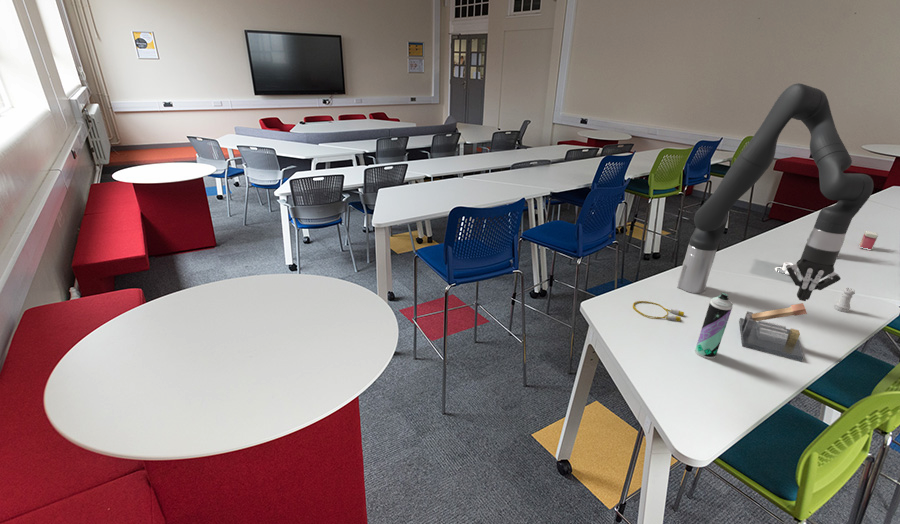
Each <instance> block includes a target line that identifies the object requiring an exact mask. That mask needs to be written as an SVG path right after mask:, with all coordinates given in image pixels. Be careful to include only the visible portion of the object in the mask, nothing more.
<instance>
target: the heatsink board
mask: <svg viewBox="0 0 900 524" xmlns="http://www.w3.org/2000/svg"><path fill="white" fill-rule="evenodd" d="M748 313H751V314H754V312H752V311H746V313H745V316H744V318H742V317H741V318H739V320H738V325H739V334H740V339H741V340H740V341H741V347H743V348H748V349H752V350H756V351H761V352H762V353H763V352H764V353H768V354H771V355H773V356H774V355H775V356H779V357H784V358H787V359H791V360H795V361H798V362H803V359H804V354H803V351H802V348H801V345H800V342H799V337H800V336H801V333H800V330H799V329H795V328H790V329H789V328H787V327H786V325H782V324H778V323H774V322H771V321H770V322H768V321H766V320H761V321H754V320H753V319H748V320H747V318H746V315H747V314H748Z"/></svg>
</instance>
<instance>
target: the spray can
mask: <svg viewBox="0 0 900 524" xmlns="http://www.w3.org/2000/svg"><path fill="white" fill-rule="evenodd" d="M733 305H734V303H733V302H732V301H731V300H730V299H729V295H728V293H726V292H721V293H720V295H717V296H714V297H712V298H711V300H710V301H709V304H708V308H707V311H706V314H705V317H704V320H703V323H702V327H701V330H700V333H699V336H698V339H697V341H696V342H697V343H696V346H695V348H694V352H695V353H696V355H698V356H699V357H701V358H704V359H707V360H713V359H715V358H716V356H717V353H718V351H719V348H720V345H721V341H722V339H723V336H724V333H725V330H726V327H727V324H728V321H729V319H730V316H731V313H732V311H733V310H732V309H733Z"/></svg>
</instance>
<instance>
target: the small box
mask: <svg viewBox="0 0 900 524" xmlns="http://www.w3.org/2000/svg"><path fill="white" fill-rule="evenodd" d="M878 237H879V234H878V232H875V231H869V230H865V232H864V233H863V235H862V238H861V240H860V241H859V244H858V246H859V245H860V247H863V248H868V249H872V250H873V247H874V246H875V243H876V241H877V239H878Z"/></svg>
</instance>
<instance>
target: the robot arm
mask: <svg viewBox="0 0 900 524" xmlns="http://www.w3.org/2000/svg"><path fill="white" fill-rule="evenodd" d="M792 119H793V120H797V121H800V122H802V123H803V124H804V125H805V126H806V127H807V129H808V131H809V133H810V134H809V135H810V141H809V152H810V154H811V157H812V159H813V161H814V163H815V165H816V166H817V167H816V168H818V177H819V178H818V179H819V190H820V192H821V194H822V195H823V196H824V197H825V198H826V199H827V200H832V201H837V202H836V203H835V204H834V205H831V206H827V207H823V208H822V209H820V211H819V213H818V215H817V218H816V221H815V223H814V226H813V229H812V230H811V231H810V234H809V236H808V237H807V239H806V243H805V245H804V248H803V252H802V254H801V256H800V258H799V260H797V262H796V263H795V264H793V265H792V266H790V265H787V266H786V269H787V271H788V273H789V275H788V276H790V278H791V280H792V282H793V283H794V285H795V286H796V287H798V291H797V293H796V297H797V298H798V301H802V302H806V301H808V300H810V298H811V296H812V293H813V291H815V290H818V291H822V290H824V289H826V288H828V287H829V286H831V285H833V284H835V283H837V282H839V281H841V276H840V275H839V274H838V273H837V272H835V263H836V261H837V259H838V257H839V254H840V252H841V250H842V247H843V245H844V242H845V238H846V234H847V233H848V232H847V231H848V229H849V227H850V225H851V222H852V220H853V218H854V217H856V215H857V214H858V213H859V211H860V209H862V208H863V206H864V205H865V204H866V202H867V201H868V200H869V199H870V197H871V196H872V193H873V191H874V180H873V178H872V177H871V176H870V175H868V174H865V173H851V172H850V173H847V172H846V173H844V172H845V171H846V170H848V169H849V168H850V167H851V166H852V163H853V162H852V161H853V160H852V157H851V154H850V153H849V152H848V149H847V148H846V146H845V144H844V142H843V141H842V139H841V137H840V135H839V132H838V130H837V127H836V124H835V122H834V118H833V115H832V111H831V107H830V103H829V98H828V97H827V95H826V92H824V91H823V90H821V89H819V88H816V87H813V86H810V85H807V84H804V83H799V82H797V83H793V84H792V85H790V86H788V87H786V88H785V89H784V90H783V91H782V92H781V94H780V95H779V96H778V98H777V99H776V101H774V104H773V106H772V107H771V109H770V110H769V112H768V114H767V115H766V116H765V118H764V120H763V122H762V124H760V127H759V128H758V130H757V131H756V132H755V133H754V135H753V136H752V138H751V139H750V141H749V142H748V143H747V145H746V146H745V147H744V149H743V150H742V151H741V152H740V153H739V155H738V156H737V157H736V159H735V160H734V162H732V164H731V166H730V167H729V169H728V170H727V172H726V174H725V175H724V177H723V178H722V180H721V181H720V183H719V185H718V186H717V187H716V189H715V190H714V192H713V193H711V195H710V196H709V198H708V199H707V200H706V201H705V202H704V203H703V204H702V205H701V206H700V207H699V208H698V209H697V210H696V211H695V214H694V217H693V222H694V225H695V229H694V231H693V232H692V235H691V236H690V238H689V242H688V246H687V250H686V253H685V257H684V260H683V262H682V266H681V270H680V273H679V277H678V281H677V288H678V289H680V290H683V291H685V292H689V293H691V294H702V293H704V292H705V290H706V287H707V283H708V280H709V277H710V273H711V271H712V268H713V263H714V261H715V258H716V254H717V252H718V251H717V250H718V248H719V245H720V243H721V241H722V238H723V236H724V232H725V230H726V227H727V224H728V220H729V213H730V211H731V209H732V208H733V206H734V205H735V203H736V202H737V201H739V199H740V198H741V197H742V196H744V195H745V194H746V193H747V192H748V191H749V190H751V188H753V186H754V185H755V184H756V183H757V182H758V181H759V180H760V179H761V177H762V176H763V175H764V174H765V173H766V171H767V170H768V169H769V168H770V167H771V165H772V164H773V161H774V159H775V155H776V150H777V143H778V139H779V137H780V135H781V133H782V131H783V130H784V128H785V127H786V126H787V124H788V123H789V122H790V121H791V120H792ZM797 269H798V271H799V272H800V274H801V280H800V279H799V278H798V277H797V276H798V275H796V274H795V273H796V272H797V273H798V271H797ZM820 280H821V281H820Z"/></svg>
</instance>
